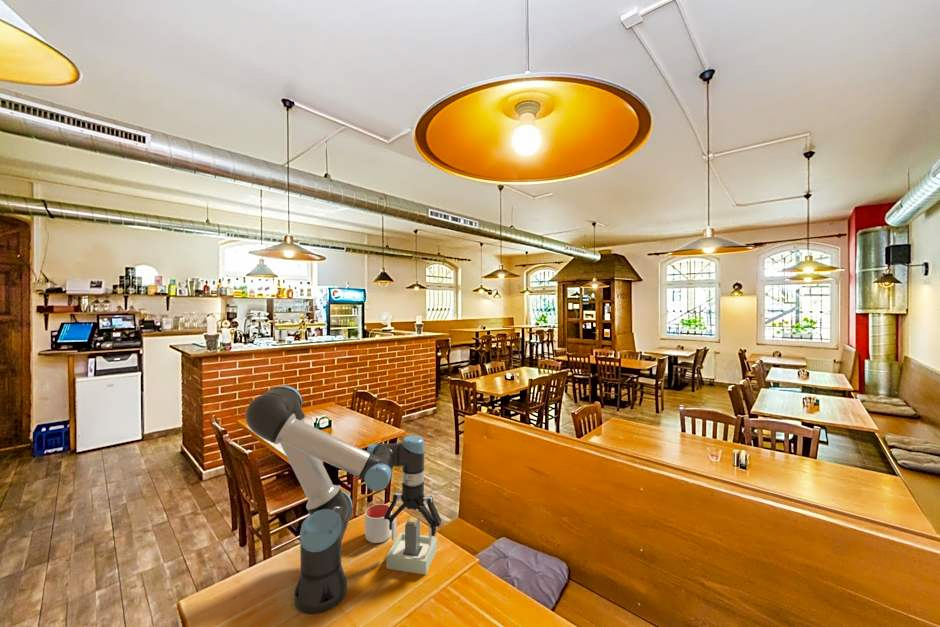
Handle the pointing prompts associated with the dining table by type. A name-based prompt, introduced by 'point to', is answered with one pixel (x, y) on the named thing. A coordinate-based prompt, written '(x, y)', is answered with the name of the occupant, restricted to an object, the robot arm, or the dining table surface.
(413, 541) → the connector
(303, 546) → the robot arm
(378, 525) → the cup
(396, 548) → the walled box
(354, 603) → the dining table surface
